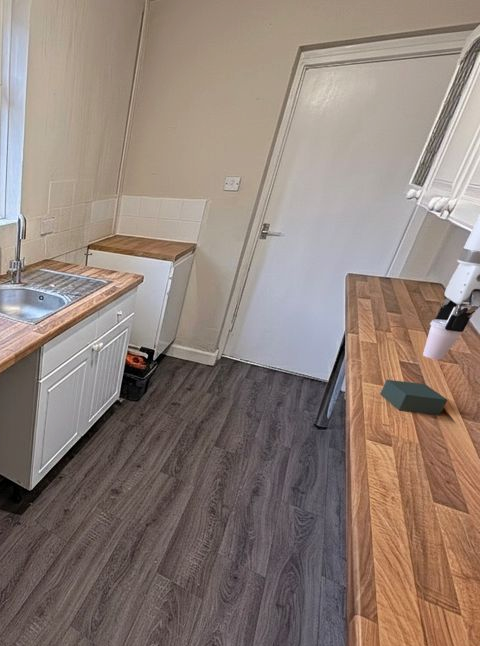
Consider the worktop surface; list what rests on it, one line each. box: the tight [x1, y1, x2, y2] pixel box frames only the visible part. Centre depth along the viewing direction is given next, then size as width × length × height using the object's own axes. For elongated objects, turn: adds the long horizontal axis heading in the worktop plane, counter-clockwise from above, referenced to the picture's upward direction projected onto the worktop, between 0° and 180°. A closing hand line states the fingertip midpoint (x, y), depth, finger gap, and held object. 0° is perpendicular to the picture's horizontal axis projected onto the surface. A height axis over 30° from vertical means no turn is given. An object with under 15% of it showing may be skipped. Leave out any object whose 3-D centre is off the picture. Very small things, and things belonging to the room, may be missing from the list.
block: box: [379, 379, 448, 416], centre depth 117 cm, size 9×9×5 cm
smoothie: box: [422, 307, 468, 361], centre depth 108 cm, size 6×6×14 cm
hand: (448, 325), depth 107 cm, fingers closed on smoothie, 6 cm apart
